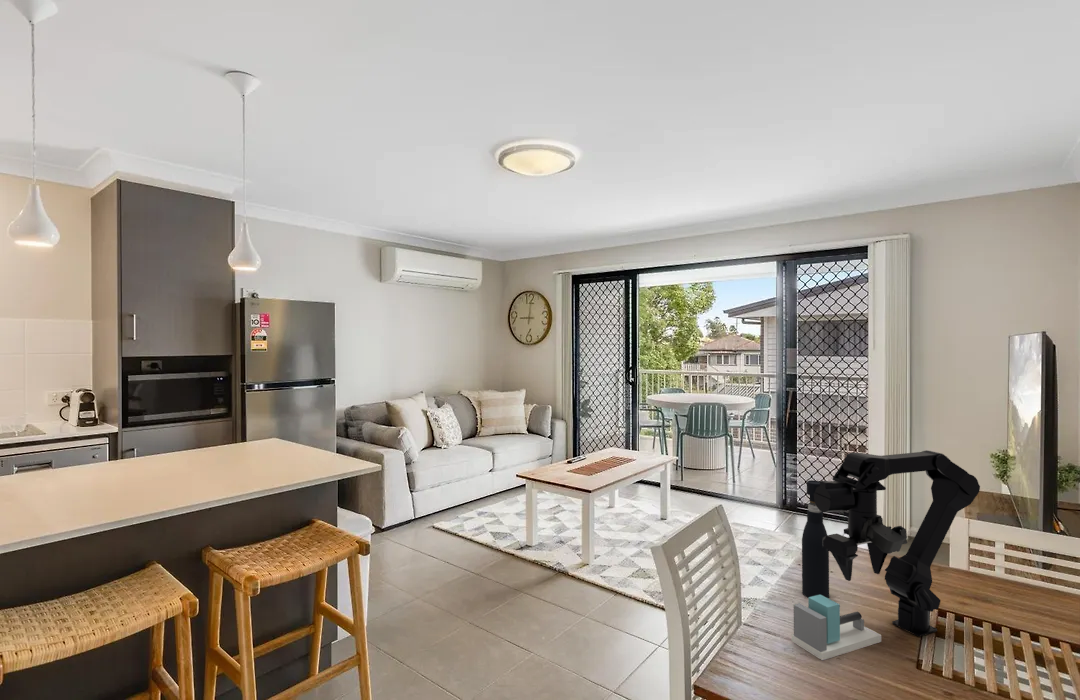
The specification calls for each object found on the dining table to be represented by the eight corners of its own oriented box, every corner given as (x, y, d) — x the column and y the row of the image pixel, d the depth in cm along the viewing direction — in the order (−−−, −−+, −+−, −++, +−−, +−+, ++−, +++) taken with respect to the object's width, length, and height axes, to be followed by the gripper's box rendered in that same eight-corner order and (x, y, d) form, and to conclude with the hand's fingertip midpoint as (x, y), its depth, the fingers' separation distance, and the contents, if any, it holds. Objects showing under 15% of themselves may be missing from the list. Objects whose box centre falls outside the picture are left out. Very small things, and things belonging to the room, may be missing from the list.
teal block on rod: (820, 629, 123) (820, 594, 123) (839, 640, 118) (839, 604, 118) (808, 632, 121) (808, 597, 121) (827, 643, 117) (827, 607, 117)
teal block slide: (848, 624, 128) (848, 588, 128) (881, 641, 121) (881, 603, 121) (791, 641, 121) (791, 603, 121) (822, 660, 114) (821, 620, 114)
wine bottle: (834, 600, 140) (833, 485, 140) (809, 600, 140) (808, 485, 140) (821, 589, 146) (821, 478, 146) (797, 589, 147) (797, 479, 146)
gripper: (865, 525, 113) (866, 599, 113) (925, 514, 120) (925, 584, 120) (820, 510, 123) (821, 578, 124) (878, 500, 130) (878, 565, 130)
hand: (862, 576), depth 124 cm, fingers open, 9 cm apart
